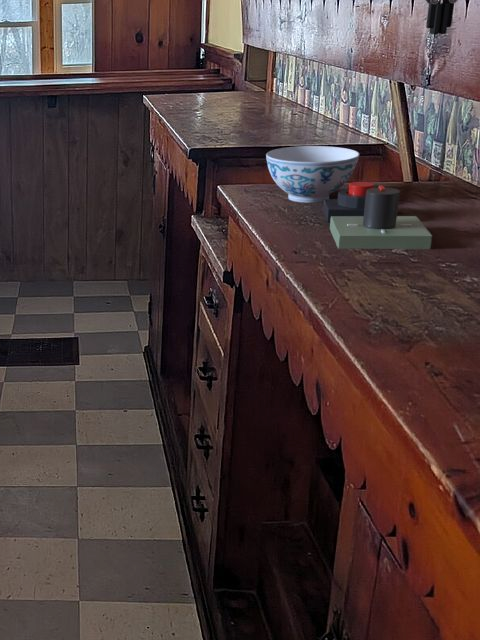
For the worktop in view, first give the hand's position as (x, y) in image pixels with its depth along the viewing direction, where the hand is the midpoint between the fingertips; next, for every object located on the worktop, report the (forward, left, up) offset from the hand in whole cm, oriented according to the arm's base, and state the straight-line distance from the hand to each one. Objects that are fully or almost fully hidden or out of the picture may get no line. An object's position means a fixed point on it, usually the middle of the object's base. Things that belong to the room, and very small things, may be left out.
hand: (437, 33), depth 124 cm
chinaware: (+14, -14, -27) cm, 34 cm away
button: (+8, 0, -23) cm, 25 cm away
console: (+7, +12, -27) cm, 30 cm away
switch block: (+8, -1, -27) cm, 28 cm away
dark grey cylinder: (+7, +12, -25) cm, 29 cm away
